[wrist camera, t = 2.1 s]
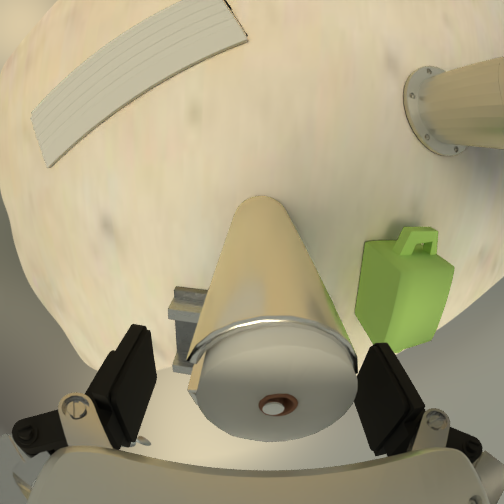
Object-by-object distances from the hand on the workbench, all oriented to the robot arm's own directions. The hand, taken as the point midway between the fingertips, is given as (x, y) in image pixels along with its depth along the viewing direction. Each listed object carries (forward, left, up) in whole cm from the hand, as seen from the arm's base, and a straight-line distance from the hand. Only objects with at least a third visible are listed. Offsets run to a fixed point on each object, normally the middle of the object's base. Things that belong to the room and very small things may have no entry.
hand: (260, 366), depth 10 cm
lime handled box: (-19, +6, -23) cm, 30 cm away
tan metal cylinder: (0, 0, -23) cm, 23 cm away
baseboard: (+20, -19, -23) cm, 36 cm away
